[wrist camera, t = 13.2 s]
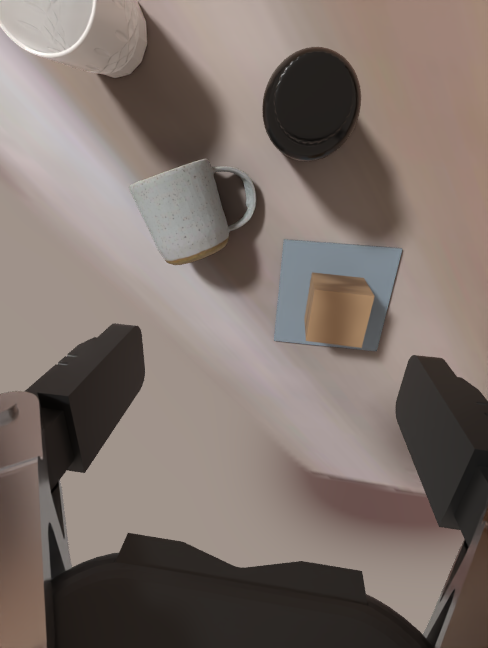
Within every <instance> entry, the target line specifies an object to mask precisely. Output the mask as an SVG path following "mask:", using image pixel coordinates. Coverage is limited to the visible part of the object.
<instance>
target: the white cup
mask: <svg viewBox="0 0 488 648" xmlns="http://www.w3.org/2000/svg"><path fill="white" fill-rule="evenodd" d="M0 27H1V28H2V29H3V31H4V32H5V33H6V34H7V35H8V36H9V38H10V39H11V40H13V41H14V42H15V43H16V44H17V45H18V46H20V47H21V48H23V49H24V50H26V51H28V52H29V53H32V54H34V55H37V56H40V57H43V58H46V59H49V60H52V61H55V62H58V63H61V64H64V65H67V66H70V67H73V68H77V69H81V70H83V71H88V72H91V73H99V74H103V75H106V76H109V77H113V78H118V77H122V76H125V75H129V74H131V73H132V72H133V71H134V70H135V68H136V67H137V66H138V65H139V64H140V63H141V62H142V59H143V56H144V53H145V49H146V46H147V29H146V20H145V18H144V16H143V13H142V11H141V8H140V6H139V4H138V1H137V0H0Z"/></svg>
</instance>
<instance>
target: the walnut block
mask: <svg viewBox="0 0 488 648" xmlns="http://www.w3.org/2000/svg"><path fill="white" fill-rule="evenodd" d="M374 297H375V296H374V294H373V293H372V291H371V289H370V287H369V286H368V284H367V282H366V281H365V279H364V278H360V277H351V276H341V275H332V274H323V273H313V272H312V274H311V281H310V287H309V293H308V299H307V305H306V311H305V318H304V320H305V335H306V341H310V342H318V343H326V344H334V345H343V346H351V347H359V348H362V344H363V340H364V336H365V332H366V328H367V324H368V320H369V317H370V313H371V309H372V305H373V301H374Z"/></svg>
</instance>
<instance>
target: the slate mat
mask: <svg viewBox="0 0 488 648" xmlns="http://www.w3.org/2000/svg"><path fill="white" fill-rule="evenodd" d="M401 253H402V248H392V247H378V246H365V245H352V244H339V243H326V242H313V241H300V240H286V239H284V244H283V254H282V264H281V274H280V284H279V295H278V305H277V315H276V325H275V335H274V341H282V342H292V343H301V344H311V345H321V346H330V347H340V348H349V349H359V350H369V351H377V348H378V344H379V340H380V336H381V332H382V328H383V324H384V320H385V316H386V312H387V308H388V304H389V300H390V296H391V292H392V288H393V284H394V280H395V276H396V272H397V268H398V264H399V260H400V256H401ZM312 272H313V273H323V274H332V275H341V276H351V277H360V278H364V279H365V281H366V282H367V284H368V286H369V287H370V289H371V291H372V293H373V294H374V296H375V297H374V301H373V305H372V309H371V313H370V317H369V320H368V324H367V328H366V332H365V336H364V340H363V344H362V348H359V347H351V346H343V345H334V344H326V343H318V342H310V341H306V335H305V320H304V318H305V311H306V305H307V299H308V293H309V287H310V281H311V274H312Z"/></svg>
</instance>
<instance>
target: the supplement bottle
mask: <svg viewBox="0 0 488 648" xmlns="http://www.w3.org/2000/svg"><path fill="white" fill-rule="evenodd" d="M360 106H361V91H360V85H359V81H358V78H357V75H356V73H355V71H354V69H353V68H352V66H351V65H350V63H349V62H348V61H347V60H346V59H345V58H344V57H343V56H342V55H340V54H339V53H337V52H335V51H333V50H331V49H328V48H323V47H311V48H306V49H302V50H300V51H297V52H295V53H293V54H292V55H290V56H289V57H287V58H286V59H285V60H284V61H283V62H282V63H281V64H280V65H279V66H278V67H277V68H276V70H275V71H274V73H273V74H272V76H271V78H270V80H269V82H268V84H267V87H266V90H265V93H264V98H263V121H264V125H265V129H266V132H267V134H268V136H269V138H270V140H271V141H272V143H273V144H274V146H275V147H276V148H277V149H278V150H279V151H280V152H282V153H283V154H284V155H286V156H288V157H290V158H292V159H295V160H299V161H313V160H318V159H321V158H324V157H326V156H328V155H330V154H332V153H333V152H335V151H336V150H337V149H338V148H340V147H341V146H342V145H343V144H344V142H345V141H346V140H347V139H348V137H349V136H350V134H351V133H352V131H353V129H354V127H355V125H356V122H357V120H358V116H359V112H360Z"/></svg>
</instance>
